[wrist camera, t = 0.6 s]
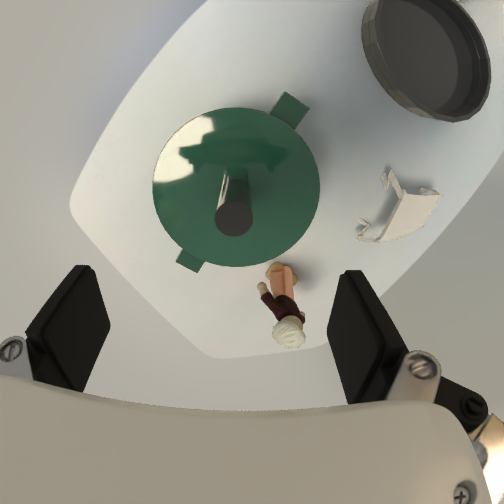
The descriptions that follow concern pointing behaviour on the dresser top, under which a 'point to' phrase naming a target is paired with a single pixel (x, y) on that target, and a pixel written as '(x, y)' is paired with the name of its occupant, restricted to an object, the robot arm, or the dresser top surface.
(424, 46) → the pan
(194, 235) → the lid
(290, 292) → the grandmother figurine
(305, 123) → the dresser top surface
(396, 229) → the origami figure
